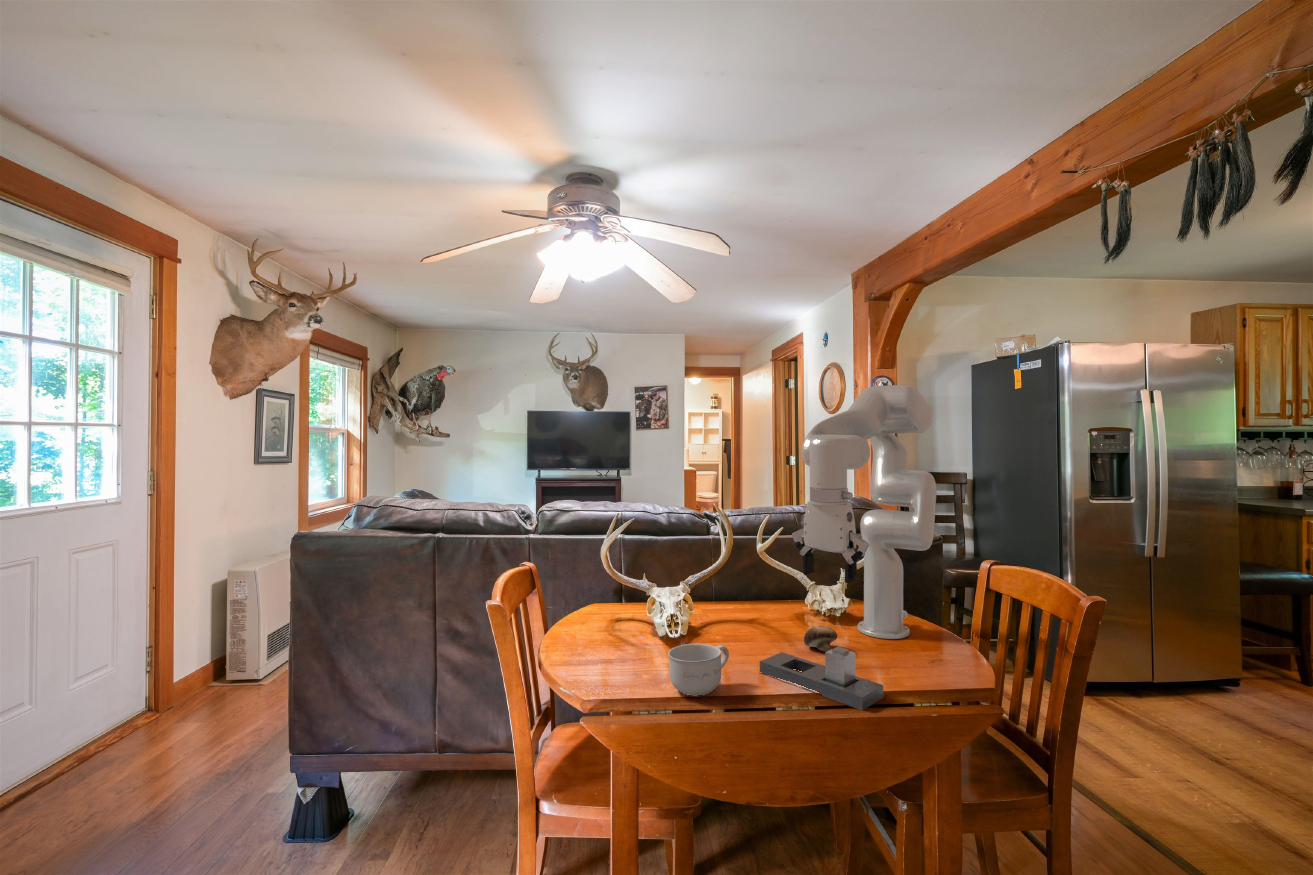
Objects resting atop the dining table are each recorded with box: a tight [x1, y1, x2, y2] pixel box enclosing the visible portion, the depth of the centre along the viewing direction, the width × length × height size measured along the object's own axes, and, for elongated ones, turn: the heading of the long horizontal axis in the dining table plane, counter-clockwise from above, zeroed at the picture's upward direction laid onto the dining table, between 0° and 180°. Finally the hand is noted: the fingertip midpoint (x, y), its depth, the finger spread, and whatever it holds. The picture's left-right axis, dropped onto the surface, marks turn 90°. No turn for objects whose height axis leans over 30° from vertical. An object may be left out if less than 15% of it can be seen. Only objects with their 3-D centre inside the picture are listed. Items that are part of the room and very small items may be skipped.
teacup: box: [667, 643, 730, 696], centre depth 123 cm, size 14×11×8 cm
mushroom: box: [803, 625, 838, 653], centre depth 145 cm, size 8×8×6 cm
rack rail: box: [759, 651, 884, 711], centre depth 125 cm, size 24×8×2 cm, turn 42°
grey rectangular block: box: [824, 646, 857, 688], centre depth 121 cm, size 4×4×9 cm
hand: (828, 577), depth 127 cm, fingers open, 9 cm apart
